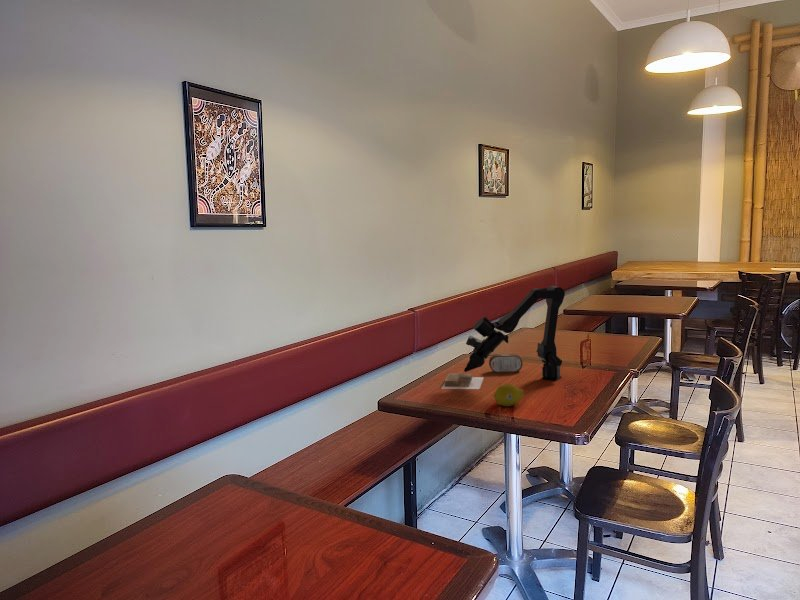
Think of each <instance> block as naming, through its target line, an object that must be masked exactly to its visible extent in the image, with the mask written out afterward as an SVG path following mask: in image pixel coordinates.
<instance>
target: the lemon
mask: <svg viewBox="0 0 800 600" xmlns="http://www.w3.org/2000/svg"><path fill="white" fill-rule="evenodd" d="M492 396H493V397H494V399H495V401H496V403H497V404H498V405H500V406H503V407H511V406H514V405H516V404H517V403H518V402H519V401H520V400H521V399H522V398H523V397H524V390H523V389H521V388H520V387H517V386H515V385H513V384H506V383H504V384H502V385H500V386H498V387H497V388H496V389H495V392H494V393H493V395H492Z"/></svg>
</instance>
